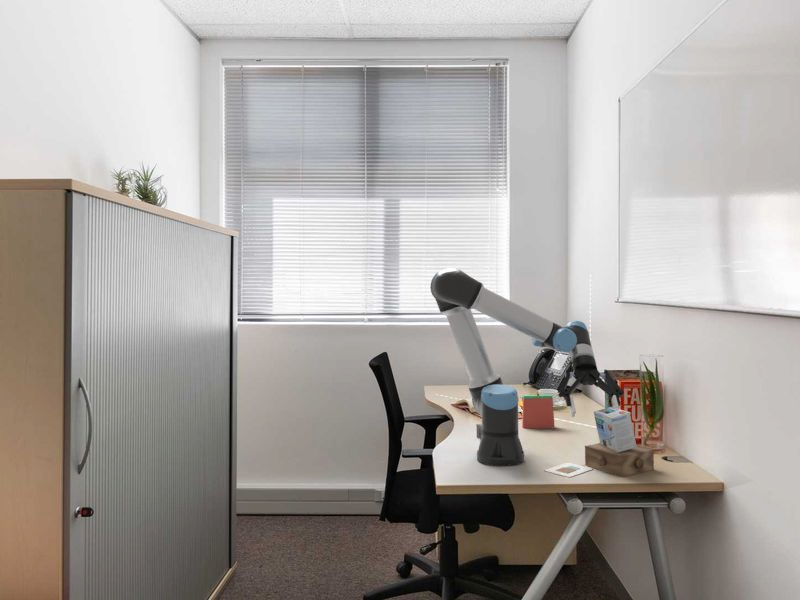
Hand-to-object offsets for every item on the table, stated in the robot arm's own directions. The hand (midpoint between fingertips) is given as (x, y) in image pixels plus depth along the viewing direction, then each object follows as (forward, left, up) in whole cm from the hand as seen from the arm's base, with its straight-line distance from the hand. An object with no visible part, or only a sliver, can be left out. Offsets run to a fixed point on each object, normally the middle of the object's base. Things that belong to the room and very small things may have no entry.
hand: (595, 414), depth 190 cm
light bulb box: (+3, -6, -9) cm, 11 cm away
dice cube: (-8, +46, -16) cm, 49 cm away
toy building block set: (+28, +63, -16) cm, 71 cm away
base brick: (+3, -6, -16) cm, 17 cm away
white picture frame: (-12, 0, -16) cm, 19 cm away
